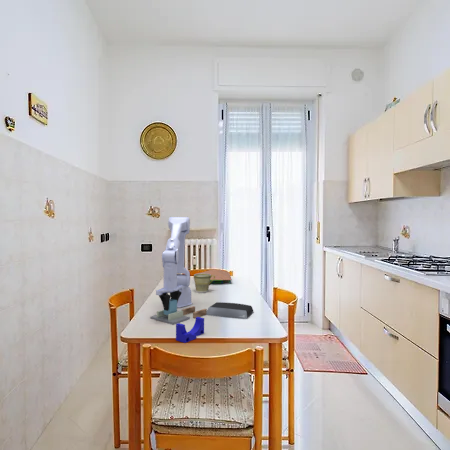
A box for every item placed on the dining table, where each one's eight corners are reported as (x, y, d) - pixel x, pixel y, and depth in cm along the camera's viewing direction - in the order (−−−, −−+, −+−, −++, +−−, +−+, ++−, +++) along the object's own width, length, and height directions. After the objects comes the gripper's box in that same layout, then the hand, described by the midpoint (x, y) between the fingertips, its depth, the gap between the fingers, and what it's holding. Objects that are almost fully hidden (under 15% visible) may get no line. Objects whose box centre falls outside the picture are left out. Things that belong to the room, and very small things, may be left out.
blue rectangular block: (170, 312, 157) (170, 298, 157) (176, 313, 155) (176, 300, 155) (163, 314, 154) (163, 300, 154) (170, 315, 152) (170, 301, 151)
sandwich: (196, 285, 229) (196, 273, 229) (198, 276, 262) (198, 265, 262) (232, 285, 230) (232, 273, 230) (229, 276, 263) (229, 265, 263)
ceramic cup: (196, 294, 202) (197, 276, 202) (191, 290, 212) (191, 274, 211) (218, 292, 208) (218, 275, 207) (211, 289, 217) (211, 272, 217)
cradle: (193, 311, 166) (193, 306, 166) (206, 314, 162) (206, 309, 162) (181, 315, 160) (181, 309, 160) (194, 318, 155) (194, 312, 155)
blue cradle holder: (184, 343, 126) (185, 326, 126) (175, 340, 128) (176, 324, 128) (207, 334, 135) (207, 318, 135) (198, 332, 138) (198, 316, 138)
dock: (167, 313, 163) (167, 306, 163) (189, 319, 154) (189, 311, 154) (150, 318, 155) (150, 310, 155) (173, 324, 146) (173, 316, 146)
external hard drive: (246, 320, 154) (246, 311, 154) (205, 316, 161) (205, 307, 161) (254, 313, 167) (254, 304, 166) (215, 309, 173) (215, 300, 173)
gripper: (164, 281, 146) (164, 314, 146) (188, 276, 157) (188, 307, 158) (152, 279, 150) (152, 311, 150) (177, 274, 162) (176, 304, 162)
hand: (170, 309), depth 154 cm, fingers closed on blue rectangular block, 4 cm apart
